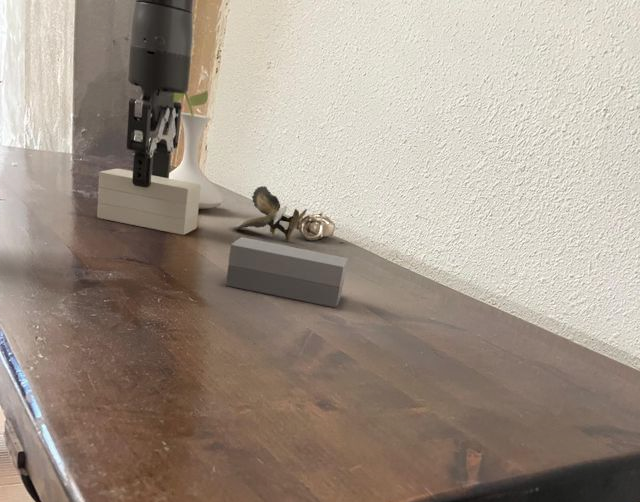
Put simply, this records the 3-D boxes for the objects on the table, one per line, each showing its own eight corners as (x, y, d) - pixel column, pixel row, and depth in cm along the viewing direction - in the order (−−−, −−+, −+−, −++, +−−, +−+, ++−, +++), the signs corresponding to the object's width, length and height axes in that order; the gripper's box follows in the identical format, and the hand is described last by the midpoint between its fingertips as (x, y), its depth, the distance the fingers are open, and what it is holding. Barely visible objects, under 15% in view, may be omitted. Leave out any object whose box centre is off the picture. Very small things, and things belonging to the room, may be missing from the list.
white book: (98, 187, 98) (99, 171, 97) (116, 183, 104) (116, 168, 103) (186, 204, 98) (188, 188, 97) (199, 199, 103) (201, 184, 102)
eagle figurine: (305, 230, 112) (253, 206, 113) (309, 193, 106) (254, 168, 107) (280, 262, 108) (227, 236, 110) (282, 225, 102) (226, 199, 103)
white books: (96, 217, 100) (98, 187, 98) (114, 212, 105) (116, 183, 104) (183, 235, 99) (186, 204, 98) (196, 228, 105) (199, 199, 103)
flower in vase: (201, 201, 128) (217, 39, 117) (234, 215, 120) (254, 43, 109) (128, 195, 120) (139, 22, 110) (158, 211, 112) (173, 25, 102)
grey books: (225, 285, 79) (230, 244, 77) (236, 276, 84) (241, 236, 82) (336, 307, 79) (343, 266, 77) (340, 297, 83) (347, 258, 81)
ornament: (299, 229, 118) (303, 206, 117) (339, 239, 117) (344, 215, 115) (280, 234, 111) (284, 210, 110) (323, 245, 110) (327, 220, 108)
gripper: (151, 47, 100) (142, 174, 107) (110, 37, 87) (103, 183, 94) (205, 57, 100) (192, 184, 107) (172, 49, 87) (160, 194, 93)
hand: (150, 183), depth 100 cm, fingers open, 7 cm apart
